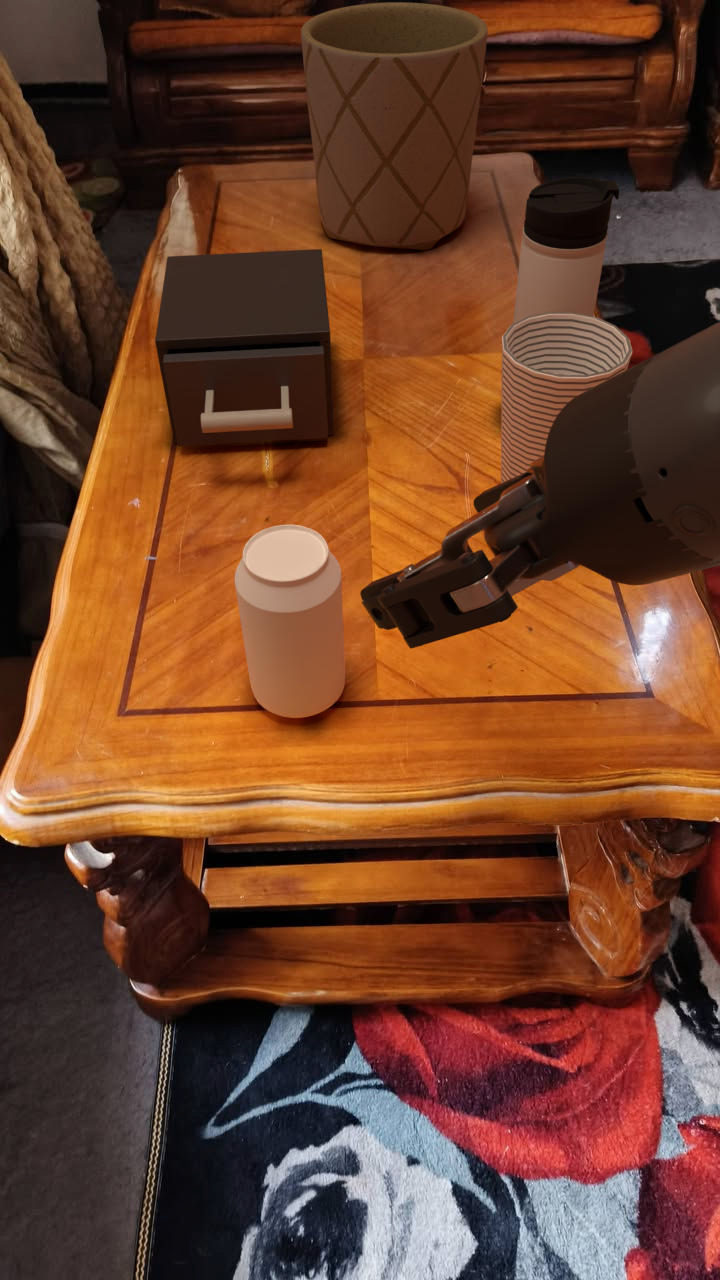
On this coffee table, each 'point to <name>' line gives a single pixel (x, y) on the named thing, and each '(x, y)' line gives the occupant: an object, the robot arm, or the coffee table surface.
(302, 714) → the beverage can
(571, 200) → the travel mug
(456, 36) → the planter
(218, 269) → the single drawer box
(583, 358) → the cup
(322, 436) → the pull-out drawer
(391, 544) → the coffee table surface
